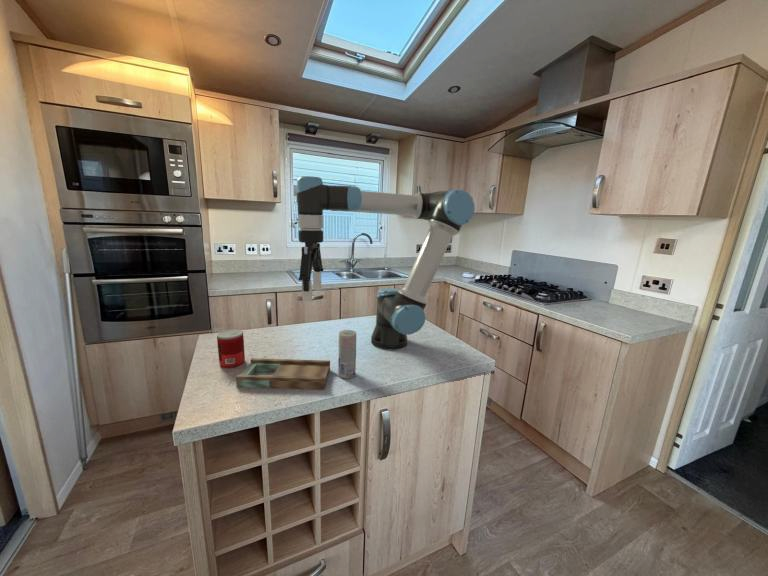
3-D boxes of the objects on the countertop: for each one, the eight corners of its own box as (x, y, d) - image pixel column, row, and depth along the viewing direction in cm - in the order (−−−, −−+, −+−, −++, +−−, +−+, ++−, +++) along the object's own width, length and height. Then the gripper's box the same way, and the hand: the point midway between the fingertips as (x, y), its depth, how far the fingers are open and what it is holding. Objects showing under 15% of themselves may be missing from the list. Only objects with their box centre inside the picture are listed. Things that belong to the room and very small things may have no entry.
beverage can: (358, 375, 102) (360, 332, 98) (346, 381, 98) (346, 337, 94) (347, 369, 105) (348, 328, 102) (334, 375, 101) (335, 332, 98)
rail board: (330, 370, 104) (330, 360, 104) (324, 389, 93) (324, 379, 92) (252, 367, 104) (251, 358, 103) (236, 387, 92) (235, 376, 91)
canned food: (249, 361, 108) (248, 332, 105) (228, 370, 101) (226, 339, 98) (236, 355, 111) (234, 327, 109) (214, 364, 105) (211, 334, 102)
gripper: (309, 227, 108) (310, 286, 113) (285, 231, 84) (289, 306, 89) (330, 227, 108) (331, 286, 113) (313, 232, 84) (315, 306, 89)
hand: (312, 295), depth 101 cm, fingers open, 13 cm apart
